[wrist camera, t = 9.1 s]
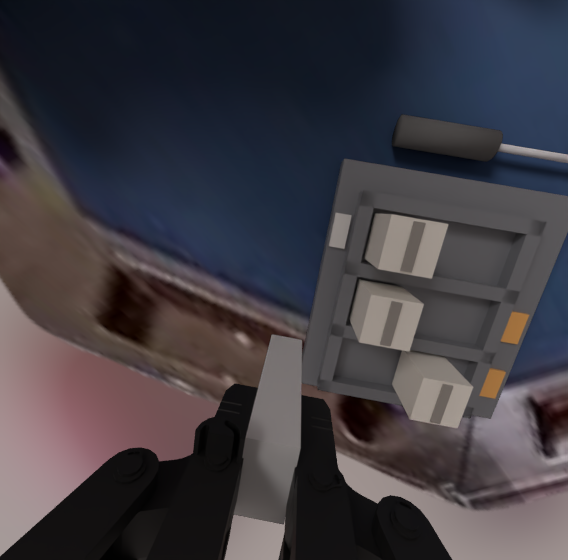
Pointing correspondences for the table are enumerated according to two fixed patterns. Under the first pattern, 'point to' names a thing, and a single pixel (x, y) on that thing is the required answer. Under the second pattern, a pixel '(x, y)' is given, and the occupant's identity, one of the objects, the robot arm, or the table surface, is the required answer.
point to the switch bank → (434, 279)
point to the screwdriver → (459, 140)
